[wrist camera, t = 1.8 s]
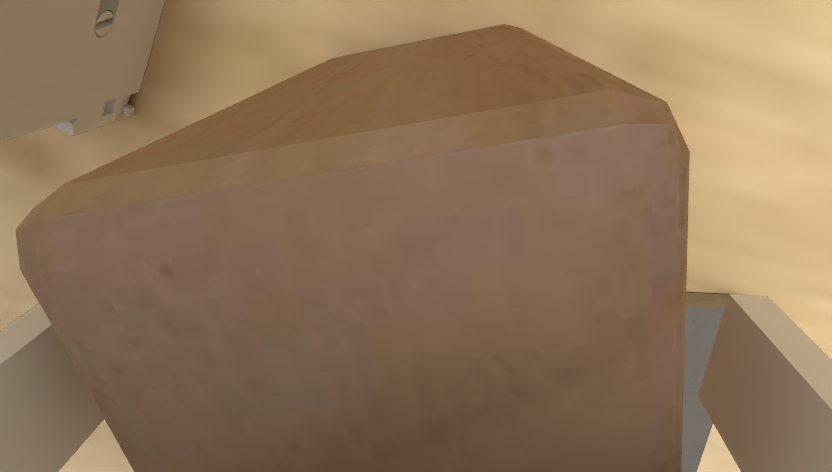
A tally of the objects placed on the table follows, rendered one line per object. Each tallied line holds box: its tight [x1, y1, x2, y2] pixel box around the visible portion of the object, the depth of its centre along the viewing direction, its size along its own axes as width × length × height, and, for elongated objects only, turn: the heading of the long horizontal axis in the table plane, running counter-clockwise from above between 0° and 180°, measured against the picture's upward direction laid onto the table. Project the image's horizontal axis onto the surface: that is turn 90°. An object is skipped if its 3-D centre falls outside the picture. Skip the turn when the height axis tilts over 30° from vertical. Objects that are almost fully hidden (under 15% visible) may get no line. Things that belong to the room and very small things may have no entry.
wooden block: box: [16, 25, 690, 472], centre depth 17 cm, size 10×10×20 cm
